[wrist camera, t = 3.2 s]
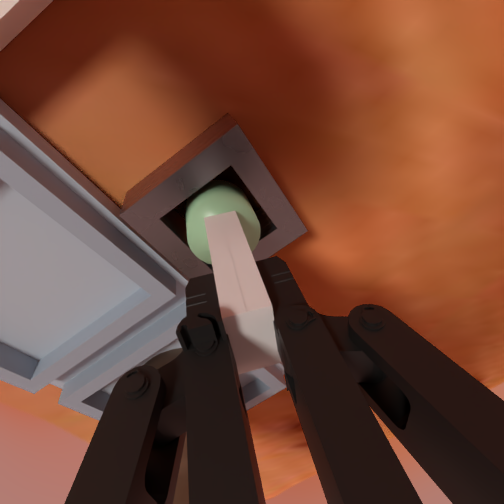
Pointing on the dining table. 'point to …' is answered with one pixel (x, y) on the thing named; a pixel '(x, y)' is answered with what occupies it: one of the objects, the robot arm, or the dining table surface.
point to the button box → (196, 176)
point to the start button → (213, 203)
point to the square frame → (17, 17)
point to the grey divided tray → (81, 282)
